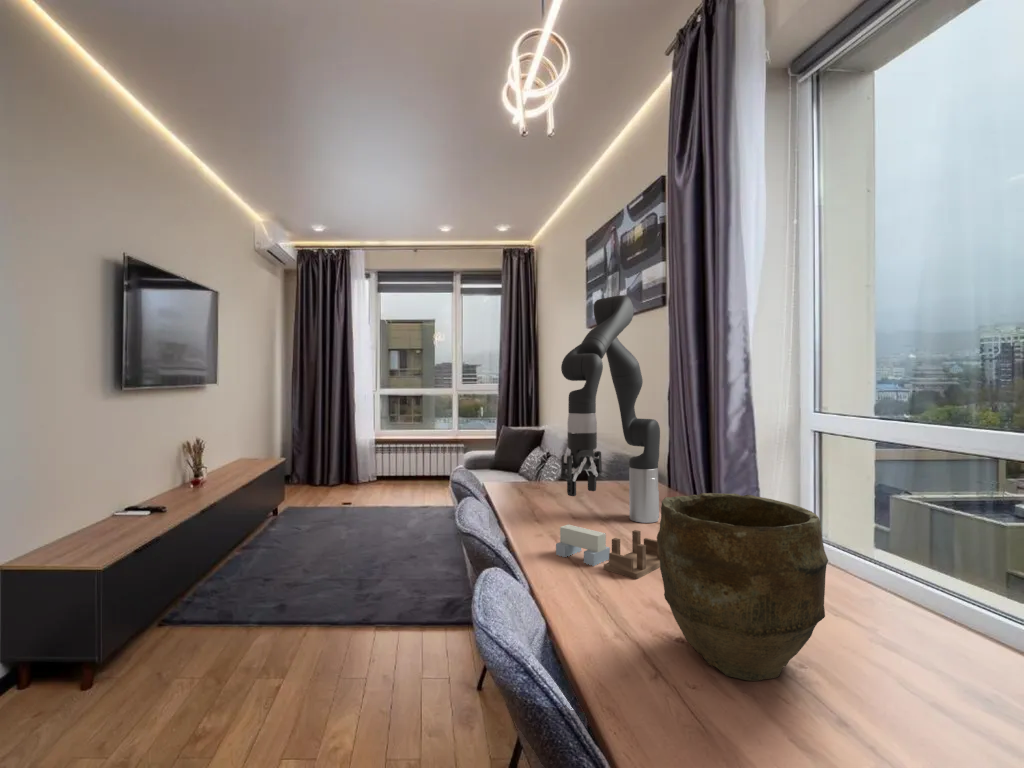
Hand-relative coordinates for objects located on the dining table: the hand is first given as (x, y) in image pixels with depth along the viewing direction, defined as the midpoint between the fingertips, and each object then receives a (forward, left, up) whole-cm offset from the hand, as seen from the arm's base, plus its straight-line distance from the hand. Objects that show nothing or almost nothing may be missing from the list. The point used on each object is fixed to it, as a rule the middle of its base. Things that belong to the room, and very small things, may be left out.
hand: (582, 493), depth 132 cm
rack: (-5, +13, -17) cm, 22 cm away
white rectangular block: (0, 0, -14) cm, 14 cm away
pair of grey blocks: (0, 0, -17) cm, 17 cm away
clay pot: (+21, +47, -17) cm, 55 cm away
